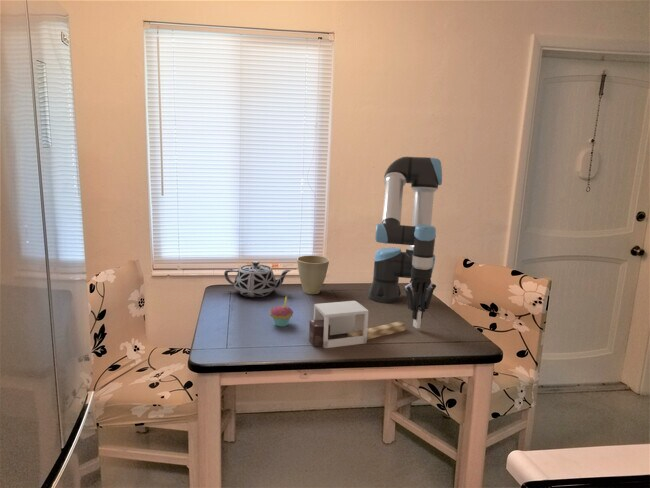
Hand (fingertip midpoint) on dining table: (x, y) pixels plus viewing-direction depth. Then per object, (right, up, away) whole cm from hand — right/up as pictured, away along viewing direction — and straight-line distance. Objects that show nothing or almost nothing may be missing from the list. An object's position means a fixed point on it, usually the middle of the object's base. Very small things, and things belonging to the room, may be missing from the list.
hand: (416, 326), depth 173 cm
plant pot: (-41, +9, +41) cm, 59 cm away
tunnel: (-30, -2, -11) cm, 32 cm away
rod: (-16, -2, -6) cm, 17 cm away
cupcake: (-52, +1, 0) cm, 52 cm away
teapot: (-66, +9, +36) cm, 75 cm away
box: (-37, -3, -15) cm, 40 cm away
